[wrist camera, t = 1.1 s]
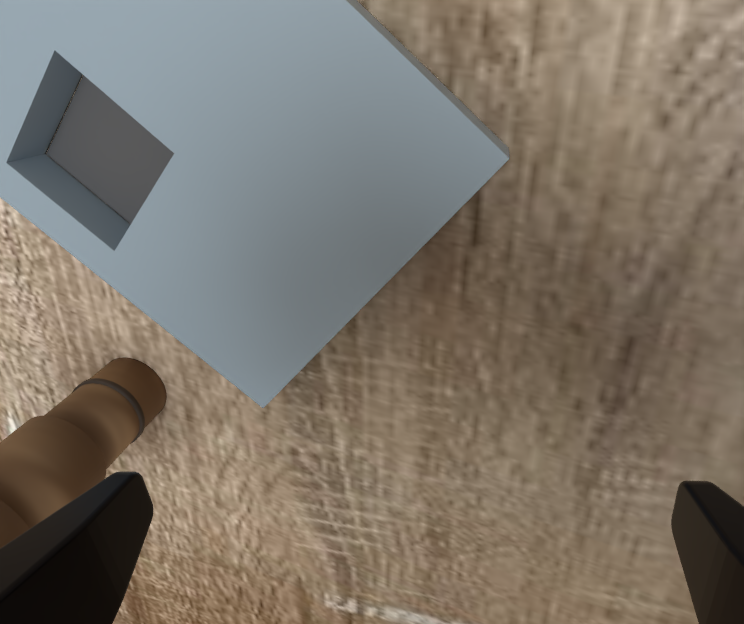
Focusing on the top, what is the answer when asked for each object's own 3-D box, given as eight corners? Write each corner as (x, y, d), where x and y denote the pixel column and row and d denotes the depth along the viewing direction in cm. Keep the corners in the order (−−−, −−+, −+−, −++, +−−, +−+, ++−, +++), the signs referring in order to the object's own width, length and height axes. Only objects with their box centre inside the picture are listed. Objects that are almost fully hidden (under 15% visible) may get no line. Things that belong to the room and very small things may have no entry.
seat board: (508, 147, 18) (509, 158, 17) (279, 382, 25) (263, 408, 23) (125, -225, 16) (79, -258, 14) (-18, 139, 22) (-62, 147, 21)
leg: (191, 390, 26) (-49, 658, 15) (150, 438, 28) (-89, 706, 17) (116, 331, 25) (-194, 563, 14) (80, 384, 27) (-218, 625, 16)
